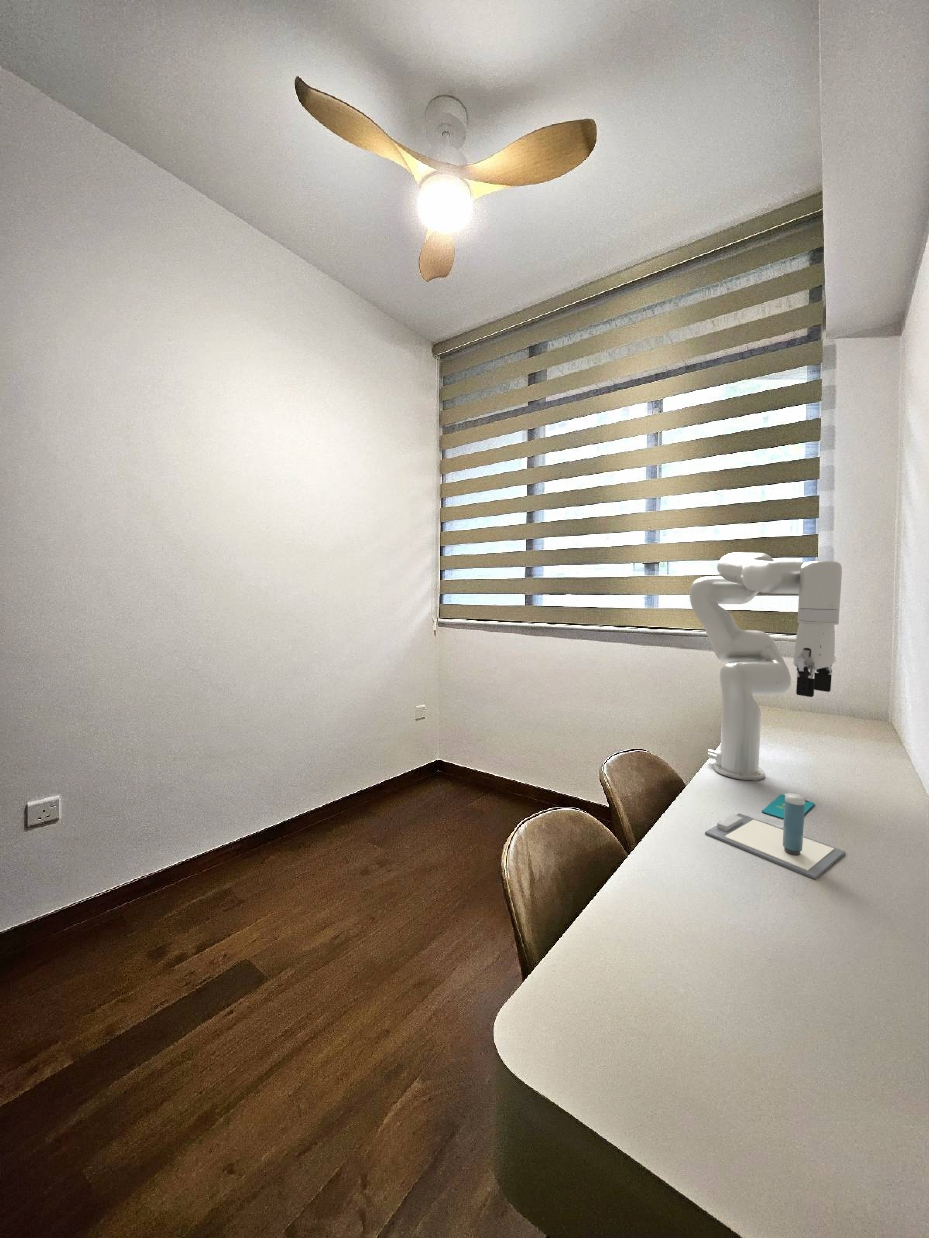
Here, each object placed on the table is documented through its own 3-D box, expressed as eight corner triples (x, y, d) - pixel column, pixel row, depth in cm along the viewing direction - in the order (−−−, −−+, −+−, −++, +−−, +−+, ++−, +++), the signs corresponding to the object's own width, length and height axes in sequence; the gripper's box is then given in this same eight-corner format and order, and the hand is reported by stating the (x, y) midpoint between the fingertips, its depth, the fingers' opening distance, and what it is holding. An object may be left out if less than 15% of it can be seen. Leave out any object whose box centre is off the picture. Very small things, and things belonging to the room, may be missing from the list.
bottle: (779, 850, 97) (782, 795, 97) (786, 846, 99) (789, 791, 98) (798, 858, 95) (801, 801, 94) (804, 853, 97) (807, 797, 96)
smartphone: (760, 810, 116) (781, 792, 126) (760, 814, 116) (781, 796, 126) (797, 822, 110) (816, 802, 120) (796, 825, 110) (815, 806, 120)
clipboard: (704, 833, 105) (705, 827, 105) (739, 815, 114) (739, 808, 114) (815, 879, 89) (815, 871, 89) (844, 853, 98) (845, 846, 98)
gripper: (813, 615, 119) (809, 686, 120) (782, 617, 109) (778, 694, 110) (852, 617, 113) (847, 691, 114) (822, 619, 103) (818, 701, 104)
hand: (813, 693), depth 112 cm, fingers open, 9 cm apart
